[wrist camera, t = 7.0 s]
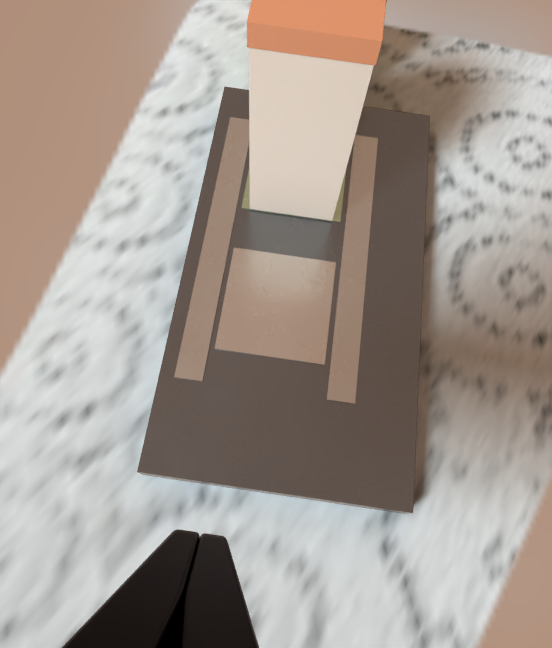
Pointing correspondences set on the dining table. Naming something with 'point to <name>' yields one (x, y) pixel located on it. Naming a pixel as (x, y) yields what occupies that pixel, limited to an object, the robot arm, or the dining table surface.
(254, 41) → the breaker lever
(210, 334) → the plate
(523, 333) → the dining table surface
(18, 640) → the dining table surface
